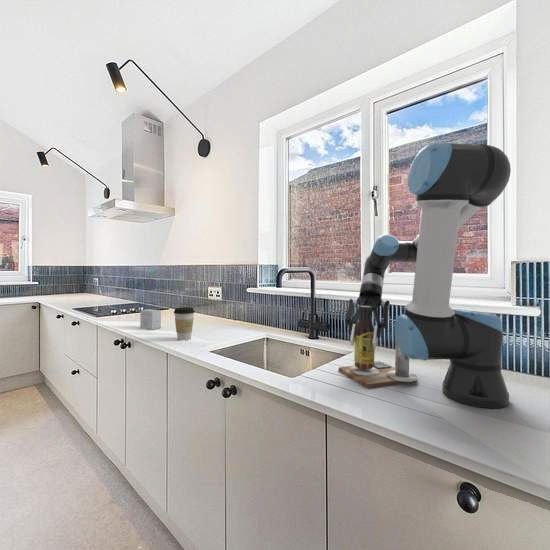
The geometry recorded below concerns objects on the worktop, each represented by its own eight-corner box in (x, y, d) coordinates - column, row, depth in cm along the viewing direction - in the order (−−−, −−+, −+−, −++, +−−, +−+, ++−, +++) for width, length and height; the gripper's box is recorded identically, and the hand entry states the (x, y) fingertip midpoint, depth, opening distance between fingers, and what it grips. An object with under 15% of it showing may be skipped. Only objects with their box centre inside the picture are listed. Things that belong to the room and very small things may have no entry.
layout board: (424, 383, 93) (424, 377, 93) (373, 391, 87) (373, 384, 87) (384, 365, 110) (384, 359, 110) (338, 370, 104) (338, 365, 104)
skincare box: (161, 328, 178) (161, 310, 178) (151, 330, 172) (151, 311, 172) (149, 326, 183) (149, 308, 183) (139, 328, 178) (139, 310, 177)
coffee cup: (197, 339, 149) (197, 308, 149) (177, 342, 143) (177, 310, 143) (190, 336, 157) (190, 306, 157) (171, 338, 152) (171, 308, 151)
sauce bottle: (363, 371, 96) (363, 307, 96) (350, 366, 102) (350, 305, 101) (379, 368, 99) (379, 306, 99) (365, 363, 105) (365, 304, 104)
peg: (412, 376, 94) (412, 331, 94) (401, 378, 93) (401, 331, 93) (402, 372, 98) (403, 328, 98) (392, 373, 97) (392, 329, 96)
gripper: (400, 296, 110) (396, 354, 95) (346, 294, 118) (334, 347, 104) (399, 282, 105) (394, 340, 90) (343, 281, 113) (330, 334, 99)
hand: (362, 343), depth 97 cm, fingers closed on sauce bottle, 6 cm apart
